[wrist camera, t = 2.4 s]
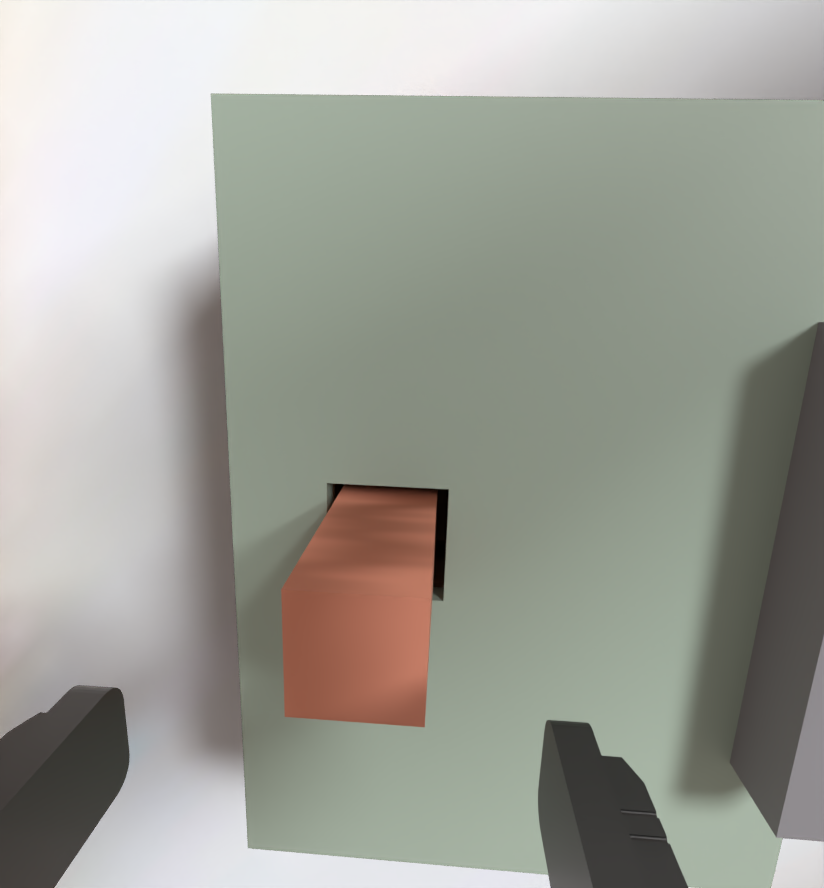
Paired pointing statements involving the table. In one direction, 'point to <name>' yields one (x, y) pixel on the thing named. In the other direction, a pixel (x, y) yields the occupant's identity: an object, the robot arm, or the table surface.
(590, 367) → the toolbox lid
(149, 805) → the table surface
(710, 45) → the table surface
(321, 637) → the pin
